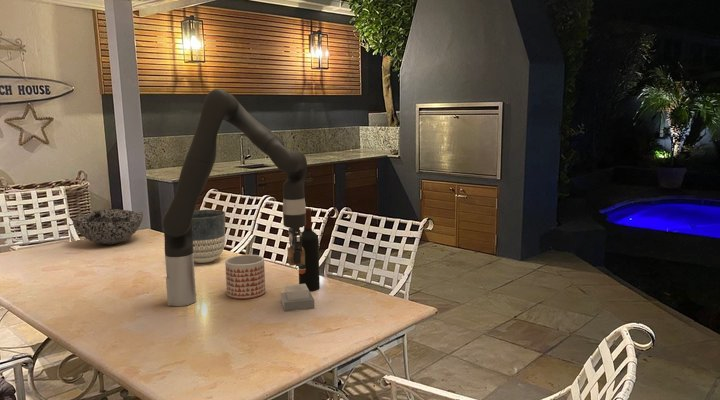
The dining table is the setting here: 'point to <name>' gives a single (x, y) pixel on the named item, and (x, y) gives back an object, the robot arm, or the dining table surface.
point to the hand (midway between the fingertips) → (296, 261)
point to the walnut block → (291, 256)
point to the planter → (208, 235)
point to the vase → (245, 276)
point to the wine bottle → (310, 256)
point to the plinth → (298, 303)
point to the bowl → (108, 225)
